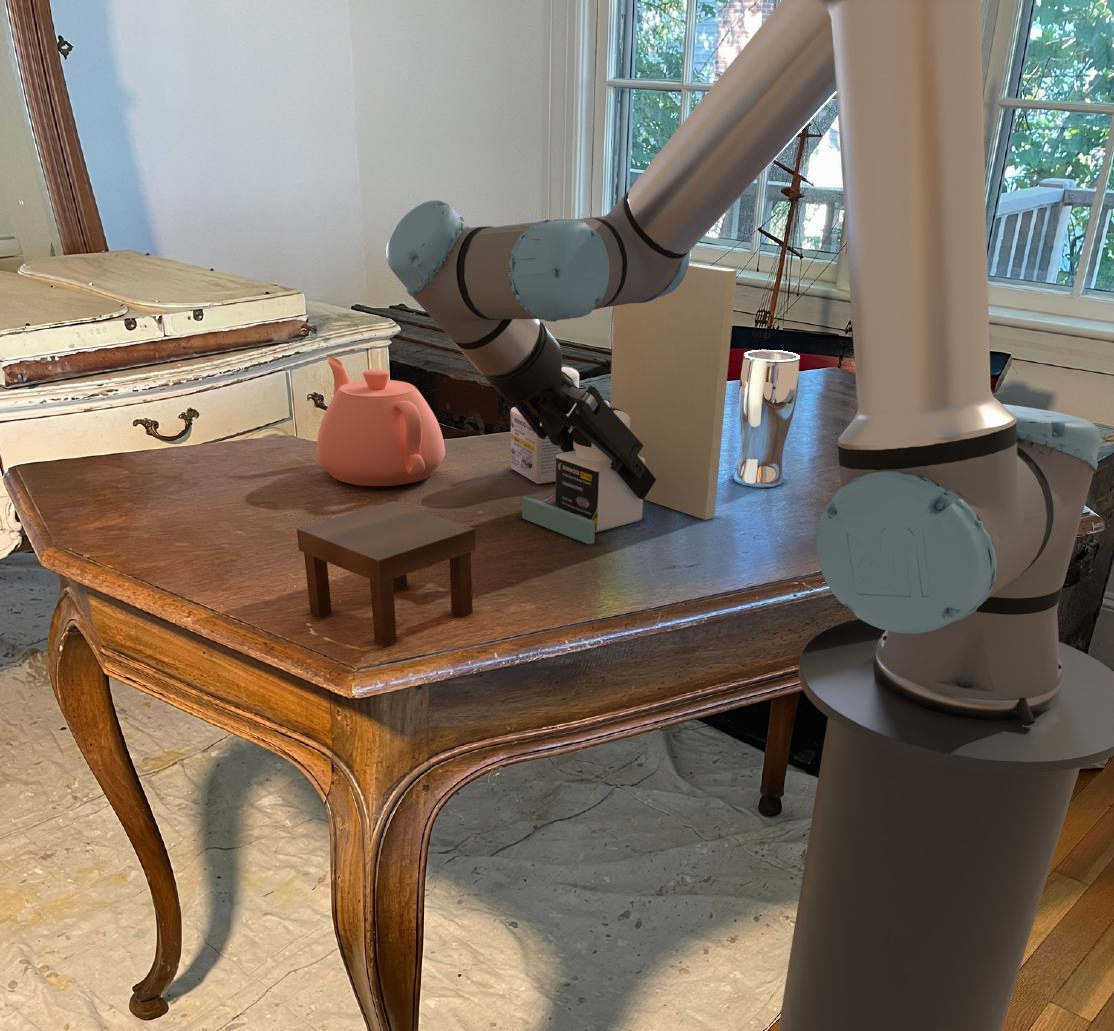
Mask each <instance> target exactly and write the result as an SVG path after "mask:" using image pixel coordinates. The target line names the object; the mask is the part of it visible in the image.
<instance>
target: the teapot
mask: <svg viewBox="0 0 1114 1031" xmlns="http://www.w3.org/2000/svg"><path fill="white" fill-rule="evenodd" d="M327 363H328V365H329V367H330V369H331V372H332V376H333V397H332V398H331V400H330V402H329V404H328V406H327V408H326V410H325V412H324V415H323V416H322V419H321V422H320V425H319V428H318V431H317V432H318V433H317V439H316V458H317V459H318V462H319V463H320V465H321V466H322V467H323V468H324V469H325V471H327V473H328V474H330V476H332V477H333V478H334V479H335V480H338V481H339V482H343V483H346V484H350V485H355V486H364V487H390V486H391V487H392V486H400V485H407V484H412V483H413V484H414V483H416V482H420V481H423V480H425V479H427V478H429V477H431V476H432V475H433V474H434V473H435V471H436V470H437V469H438V468H439V467H440V465H441V463H442V462H443V460H444V458H445V456H446V447H445V441H444V437H443V434H442V430H441V426H440V424H439V422H438V419H437V418H436V416H435V413H434V412H433V410H432V409H431V407H430V405H429V403H428V402H427V401H426V399H425V398H424V396H423V395H422V393H421V392H420V391H419V389H418V388H417V386H416V385H413V384H411V383H409V382H406V381H401V380H396V379H395V380H394V379H393V380H392V379H389V378H390V371H389V370H386V369H382V368H373V369H367V370H364V371H363V372H362V376H363V378H364V380H357V381H352V382H351V380H350V377H349V374H348V372H347V369H346V366H345V365H344V364H343V362H341V360H339V359H338V358H337V357H333V356H328V357H327Z"/></svg>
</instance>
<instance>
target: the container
mask: <svg viewBox="0 0 1114 1031" xmlns="http://www.w3.org/2000/svg"><path fill="white" fill-rule="evenodd" d="M562 372H564V373H566V374H567V375H568V376H569V377H570V378H571V379H572V380H573V382H574V384H575V386H576V387H578V388H579V389H580V372H579V371H578V370H577V369H576V368H575V367H573V366H570V365H568V364H563V363H562ZM575 406H576V403H575V405H574V406H573V408H572V409H571V411H570V412H569V413H568V414H566V415H567V416H569V415H570V413H571V412H572V410H573V409H574V407H575ZM540 426H541V422H540ZM573 428H574V426H571V428H570V429H569V432H571V431H572V429H573ZM560 448H561V446H560V445H559V446H556V445H554V444H552V443H551V441H550V440H549V438H548V436H546V438H545V439H542V438H539V437H538V435H537V434H536V433H535V432H534V430H533V429H532V428H531V427H530V425H529V424H528V423H527V421H526V420H525V419H524V418H523V416H522V415H521V414H520V412H519V411H518V410H517V409H516V407H515V406H513V407H512V408H511V409H510V467H511V469H512V470H514V471H515V472H516V473H519V474H520V475H521V476H523V477H525V478H527V479H528V480H530V481H531V482H533V483H534V484H537V485H543V484H544V485H545V484H549V483H556V456H557V455H558V454H561V453H564V452H563V451H562V450H561V449H560Z"/></svg>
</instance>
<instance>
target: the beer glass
mask: <svg viewBox="0 0 1114 1031" xmlns="http://www.w3.org/2000/svg"><path fill="white" fill-rule="evenodd" d="M800 359H801V357H800V355H798V354H796V353H793V352H788V351H783V350H769V349H768V350H767V349H761V350H760V349H759V350H750V351H747V352H744V353H743V359H742V363H741V364H742V365H741V370H740V374H739V375H740V376H739V382H738V383H739V385H738V392H737V419H738V432H739V453H738V459H737V462H736V467H735V470H734V474H733V481H734V482H735V483H737V484H739V485H742V486H746V487H750V488H761V489H762V488H774V487H777V486H780V485H782V484H783V483H784V469H783V456H784V455H783V454H784V450H785V449H784V448H785V444H786V441H787V437H788V434H789V431H790V427H791V423H792V420H793V416H794V413H795V409H796V403H797V399H798V390H799V374H800Z"/></svg>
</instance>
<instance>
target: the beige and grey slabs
mask: <svg viewBox="0 0 1114 1031" xmlns="http://www.w3.org/2000/svg"><path fill="white" fill-rule="evenodd" d="M737 273H738V270H737V269H733V268H725V267H718V266H712V265H704V264H698V263H691V262H690V263H689V265H688V268H687V271H686V274H685V278H684V279H683V281H682V282H681V284H680V285H679V286H678V287H677V288H676V289H675V290H673V291H672V292H670V293H669V294H667V295H664V296H660V297H658V298H656V299H654V300H652V301H649V302H645V303H630V304H623V305H617V306H613V317H612V318H613V320H612V344H611V346H612V347H611V348H612V349H611V370H610V371H611V372H610V397H609V403H610V407H612V408H617V409H620V410H622V411H624V412H625V413H627V414H628V415H629V417H630V431H631V432H632V433H633V434H634V435H635V436H636V438H637V439H638V440H639V441H640V442H641V443H642V444H643V447H642V449H641V450H640V452H639V454H638V455H637V456H640V457H643V458H645V466H646V467H647V468H648V470H649V471H650V472H651V473H652V475H653V476H654V477H655V478H656V481H655V483H654V484H653V486H652V487H651V489H650V490H649V492H648V494H647V495H646V497H645V498H644V500H645V501H648V502H651V503H653V504H657V505H660V506H662V507H666V508H668V509H671V510H674V511H676V512H680V513H683V514H686V515H689V516H692V517H695V518H697V519H701V520H703V521H707V520H710V519H714V518H715V515H716V505H717V504H716V503H717V502H716V501H717V493H718V484H719V483H718V482H719V472H720V459H721V450H722V449H721V448H722V438H723V429H724V428H723V427H724V419H725V418H724V415H725V407H726V406H725V404H726V395H727V384H728V375H729V374H728V372H729V363H730V362H729V361H730V352H731V350H730V349H731V340H732V329H733V318H734V309H735V308H734V307H735V297H736V285H737V284H736V283H737ZM644 500H643V501H644ZM521 503H522V504H521V509H522V510H521V518H522V519H523V520H526V521H528V522H531V523H533V524H536V525H539V526H541V527H544V528H546V529H548V530H551V531H553V532H556V533H558V534H561V535H564V536H567V537H568V538H571V539H574V540H576V541H579V542H581V543H584V544H587V545H593V544H595V537H596V536H595V533H596V532H595V521H592V520H589V519H587V518H584V517H581V516H579V515H576V514H573V513H571V512H568V511H565V510H562V509H560V508H557V507H555V505H552V504H549V503H546V502H543V501H541V500H538V499H535V498H533V497H530V496H524V497H522V498H521Z"/></svg>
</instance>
